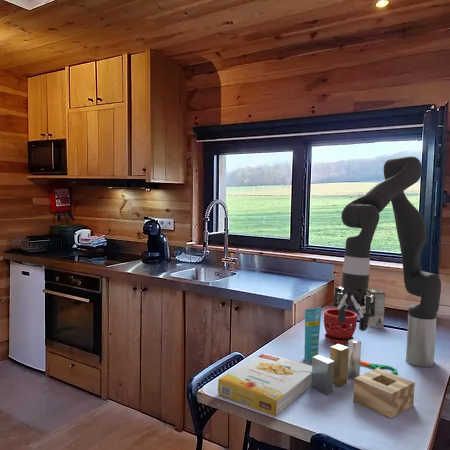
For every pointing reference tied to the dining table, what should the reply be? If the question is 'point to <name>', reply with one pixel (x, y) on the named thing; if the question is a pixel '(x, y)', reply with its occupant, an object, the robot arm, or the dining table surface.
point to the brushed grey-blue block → (322, 374)
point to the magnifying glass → (378, 366)
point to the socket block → (384, 392)
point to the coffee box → (377, 308)
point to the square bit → (340, 364)
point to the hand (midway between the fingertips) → (351, 326)
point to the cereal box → (266, 383)
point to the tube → (312, 332)
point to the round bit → (354, 358)
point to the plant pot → (339, 326)
